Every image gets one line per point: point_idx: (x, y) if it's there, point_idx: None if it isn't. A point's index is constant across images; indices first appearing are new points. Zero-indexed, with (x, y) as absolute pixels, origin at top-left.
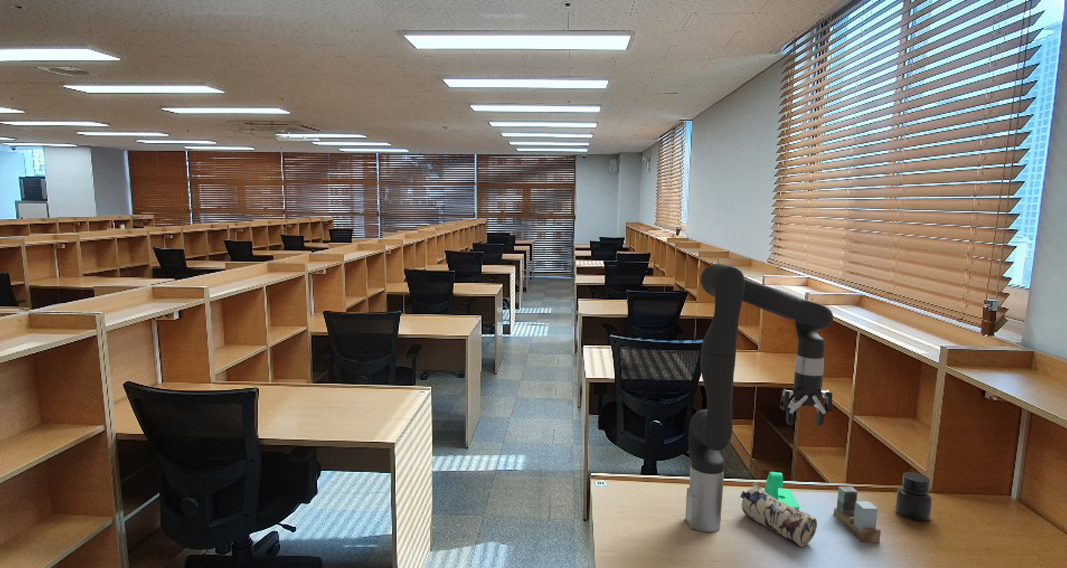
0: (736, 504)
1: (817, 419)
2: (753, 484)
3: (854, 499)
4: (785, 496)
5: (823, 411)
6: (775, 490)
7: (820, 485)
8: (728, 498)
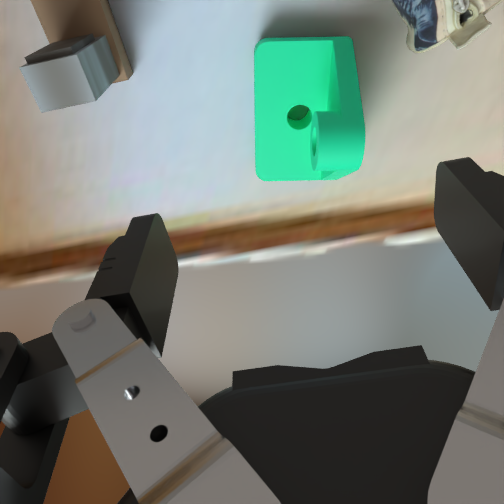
0: (457, 72)
1: (163, 276)
2: (484, 24)
3: (42, 50)
4: (285, 125)
5: (80, 319)
6: (347, 83)
7: None
8: (467, 112)
